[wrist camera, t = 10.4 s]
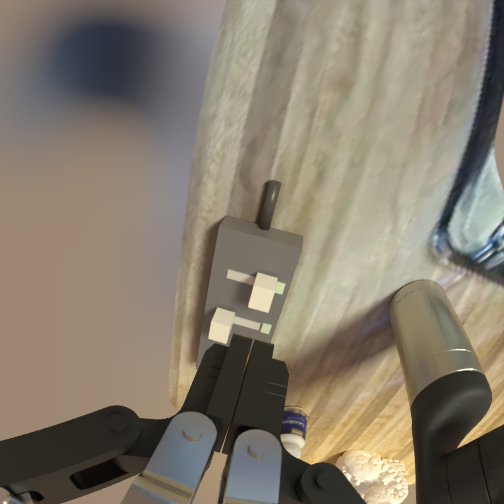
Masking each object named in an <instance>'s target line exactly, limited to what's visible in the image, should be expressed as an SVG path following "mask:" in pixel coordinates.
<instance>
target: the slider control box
mask: <svg viewBox="0 0 504 504" xmlns="http://www.w3.org/2000/svg"><path fill="white" fill-rule="evenodd" d="M280 186H281V183H280V182H278V181H274V180H270V181H269V185H268V189H267V193H266V197H265V201H264V205H263V209H262V213H261V218H260V222H259V224H256V223H253V222H249V221H245V220H241V219H238V218H234V217H230V216H226V217H225V218H224V220H223V221H222V223H221V224H220V225H219V229H218V235H217V240H216V246H215V252H214V257H213V263H212V269H211V275H210V281H209V287H208V293H207V299H206V305H205V311H204V317H203V324H202V330H201V337H200V343H199V350H198V357H197V364H196V369H198V368H199V366H200V364H201V361H202V358H203V356H204V354H205V351H206V350H207V349H209V348H210V347H211V346H212V345H213V344H215V343H217V344H221V345H224V346H227V347H229V345H230V342H231V339H232V336H233V334H238V335H241V336H245V337H249V338H252V339H253V341H252V345H251V348H250V352H251V349H252V346H253V343H254V340H255V339H256V340H260V341H263V342H267V343H270V342H271V339H272V336H273V333H274V330H275V328H276V325H277V322H278V319H279V316H280V313H281V310H282V307H283V305H284V302H285V299H286V296H287V293H288V290H289V287H290V284H291V281H292V278H293V275H294V272H295V269H296V266H297V263H298V260H299V257H300V253H301V250H302V243H303V236H300V235H297V234H293V233H289V232H286V231H282V230H278V229H275V228H271V227H270V225H271V221H272V217H273V213H274V209H275V205H276V202H277V198H278V194H279V190H280ZM257 273H262V274H265V275H269V276H273V277H276V278H278V279H277V284H276V289H275V293H274V296H273V300H272V303H271V306H270V309H269V312H268V313H267V312H263V311H259V310H256V309H252V308H249V307H248V305H249V301H250V297H251V294H252V290H253V286H254V283H255V280H256V277H257ZM217 307H218V308H221V309H225V310H228V311H231V312H235V317H234V321H233V325H232V329H231V332H230V335H229V338H228V341H227V343H226V344H225V343H221V342H218V341H214V340H211V339H208V337H209V331H210V326H211V321H212V319H213V316H214V314H215V312H216V310H217ZM250 352H249V354H250Z"/></svg>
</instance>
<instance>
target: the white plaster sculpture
mask: <svg viewBox="0 0 504 504" xmlns="http://www.w3.org/2000/svg"><path fill="white" fill-rule="evenodd" d="M380 458H381V457H380V456H379V455H377V454H376V453H368V452H366V451H363V450H349V451H346V452H344V454H343V455H342V456H340V457H339V458H338V459H337V462H336V464H335V466H336V467H337V468H339V469H340V470H341V471H342V473H343V474H344V475H345V476H346V478H347V479H348V480H349V482H350V483H351V484H352V486H353V487H354V488H355V489H356V491H357V492H358V493H359V494H360V496H361V497H362V498H363V499H364V501H365V502H366V503H367V504H399V503H401V502H402V501H403V500H404V499H405V498H406V496H407V494H408V483H407V480H406V479H405V478H404V477H403V476H404V475H407V476H408V472H405V473H404V472H403V471H404V470H405V465H404V462H402V461H399V460H392V459H390V458H383V459H380Z"/></svg>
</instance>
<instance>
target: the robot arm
mask: <svg viewBox="0 0 504 504" xmlns="http://www.w3.org/2000/svg"><path fill="white" fill-rule="evenodd" d="M389 318H390V322H391V326H392V329H393V334H394V338H395V342H396V346H397V350H398V354H399V358H400V363H401V367H402V371H403V376H404V381H405V385H406V390H407V394H408V400H409V405H410V410H411V417H412V436H413V444H414V455H415V475H416V503H417V504H504V425H502V426H499V427H497V428H496V429H494V430H492V431H490V432H488V433H486V434H485V435H483V436H481V437H479V438H477V439H475V440H473V441H471V442H469V443H468V444H466V445H464V446H462V447H460V448H458V449H457V447H458V446H459V444H460V443H461V442H462V440H463V439H464V438H465V436H466V435H467V434H468V433H469V432H470V431H471V430H472V429H473V428H474V427H475V426H476V425H477V424H478V423H479V422H480V421H481V420H482V418H483V417H484V416H485V414H486V413H487V411H488V410H489V408H490V405H491V401H492V392H491V389H490V386H489V383H488V381H487V379H486V376H485V374H484V371H483V369H482V367H481V364H480V362H479V360H478V358H477V356H476V353H475V351H474V349H473V347H472V345H471V343H470V340H469V338H468V336H467V334H466V332H465V330H464V328H463V326H462V324H461V322H460V320H459V318H458V316H457V314H456V312H455V310H454V308H453V306H452V304H451V302H450V301H449V299H448V297H447V295H446V293H445V292H444V290H443V288H442V287H441V286H440V285H439V284H437V283H436V282H433V281H430V280H419V281H415V282H412V283H409V284H408V285H406V286H404V287H403V288H402V289H400V290H399V291H398V292H397V293H396V294H395V296H394V297H393V299H392V300H391V303H390V306H389ZM252 341H253V339H252V338H249V337H245V336H241V335H238V334H233V336H232V339H231V342H230V345H229V347H227V346H224V345H221V344H217V343H215V344H213V345H212V346H211V347H210V348H209V349H207V350H206V351H205V354H204V356H203V358H202V361H201V364H200V366H199V368H198V370H197V373H196V375H195V378H194V380H193V382H192V385H191V387H190V390H189V392H188V394H187V397H186V399H185V402H184V404H183V406H182V408H181V410H180V411H179V412H178V413H177V414H176V415H174V416H172V417H170V418H166V419H159V420H158V419H156V420H155V419H144V418H139V417H138V416H137V414H136V413H135V412H134V411H132V410H131V409H129V408H127V407H124V406H118V405H117V406H116V405H115V406H109V407H106V408H103V409H101V410H98V411H95V412H92V413H90V414H87V415H84V416H81V417H78V418H75V419H72V420H69V421H66V422H64V423H60V424H57V425H54V426H51V427H48V428H44V429H42V430H38V431H35V432H31V433H28V434H24V435H21V436H17V437H14V438H10V439H6V440H3V441H0V504H60V503H64V502H67V501H70V500H73V499H76V498H79V497H82V496H84V495H87V494H90V493H93V492H95V491H98V490H101V489H103V488H106V487H108V486H111V485H113V484H116V483H118V482H120V481H123V480H125V479H128V478H130V477H132V476H135V475H137V474H139V473H140V475H138V476H137V477H136V478H135V480H134V481H133V482H132V484H131V486H130V488H129V489H128V491H127V493H126V495H125V497H124V498H123V500H122V502H121V504H192V503H193V500H194V498H195V496H196V493H197V491H198V489H199V486H200V484H201V481H202V479H203V477H204V474H205V472H206V470H207V469H208V468H209V466H210V463H211V460H212V457H213V454H214V451H216V452H220V450H221V447H222V445H223V442H224V439H225V436H226V433H227V436H226V439H225V443H224V447H223V450H222V453H223V454H227V455H228V456H227V459H226V463H225V467H224V469H223V472H222V475H221V480H220V486H219V491H218V497H217V502H216V504H367V503H366V502H365V501H364V499H363V498H362V497H361V496H360V494H359V493H358V492H357V491H356V489H355V488H354V487H353V486H352V484H351V483H350V482H349V480H348V479H347V478H346V476H345V475H344V474H343V473H342V471H341V470H340V469H339V468H337V467H336V466H334V465H332V464H330V463H324V462H321V463H315V464H313V465H310V464H308V463H306V462H304V461H302V460H300V459H298V458H296V457H294V456H293V455H291V454H290V453H289V452H288V451H287V450H286V449H285V447H284V446H283V444H282V441H281V427H282V420H283V414H284V407H285V399H286V398H285V397H286V392H287V385H288V377H289V373H288V370H287V367H286V364H285V362H283V361H279V360H275V359H272V355H273V350H274V344H271V343H267V342H263V341H260V340H256V339H255V340H254V343H253V346H252V349H251V352H250V348H251V345H252ZM249 352H250V355H249ZM248 356H249V358H248ZM247 360H248V362H247ZM246 363H247V365H246ZM245 367H246V368H245ZM228 428H229V429H228ZM227 430H228V432H227Z"/></svg>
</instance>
